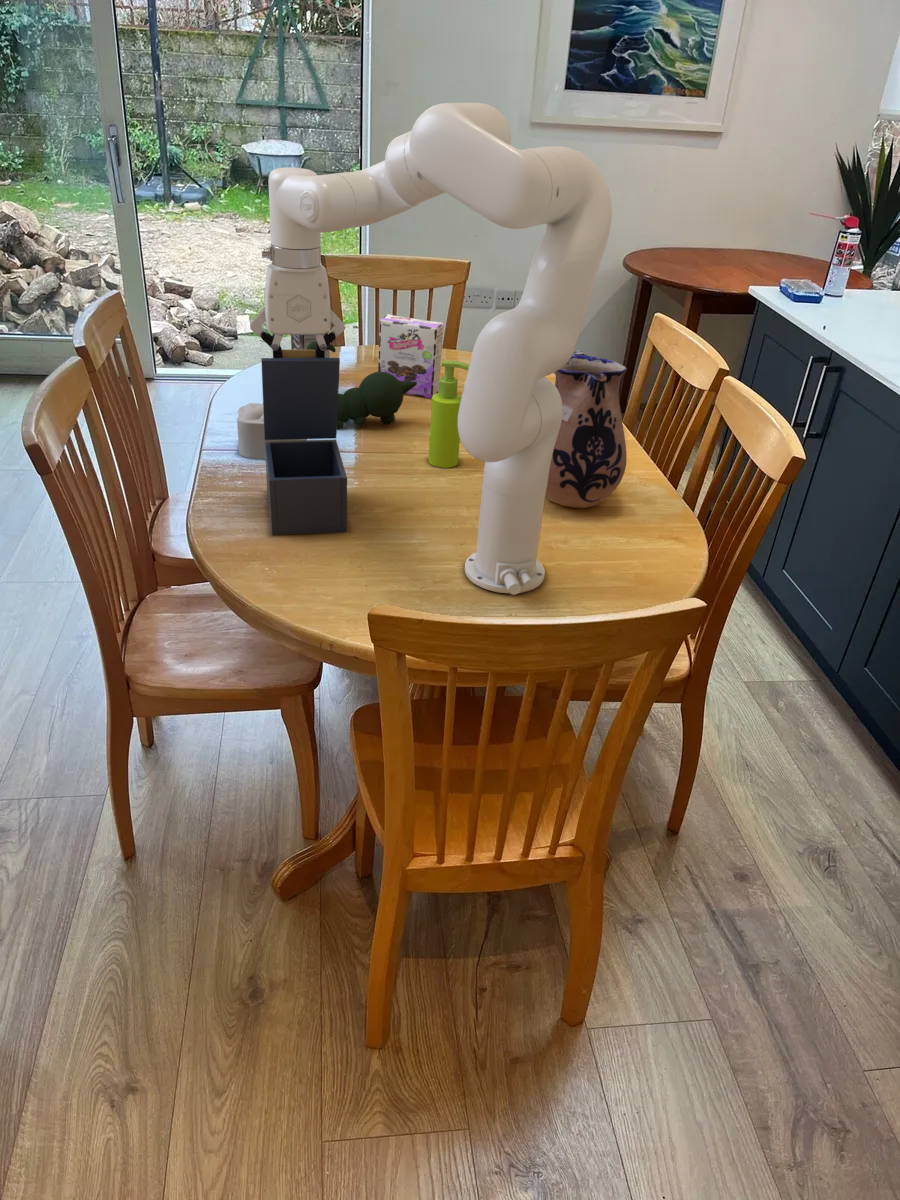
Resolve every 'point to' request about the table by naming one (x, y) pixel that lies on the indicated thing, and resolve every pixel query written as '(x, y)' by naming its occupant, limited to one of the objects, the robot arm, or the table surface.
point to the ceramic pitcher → (588, 433)
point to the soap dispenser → (445, 419)
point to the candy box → (411, 352)
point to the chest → (306, 487)
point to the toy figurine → (371, 397)
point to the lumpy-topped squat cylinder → (252, 431)
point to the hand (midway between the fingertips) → (299, 371)
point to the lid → (300, 396)
